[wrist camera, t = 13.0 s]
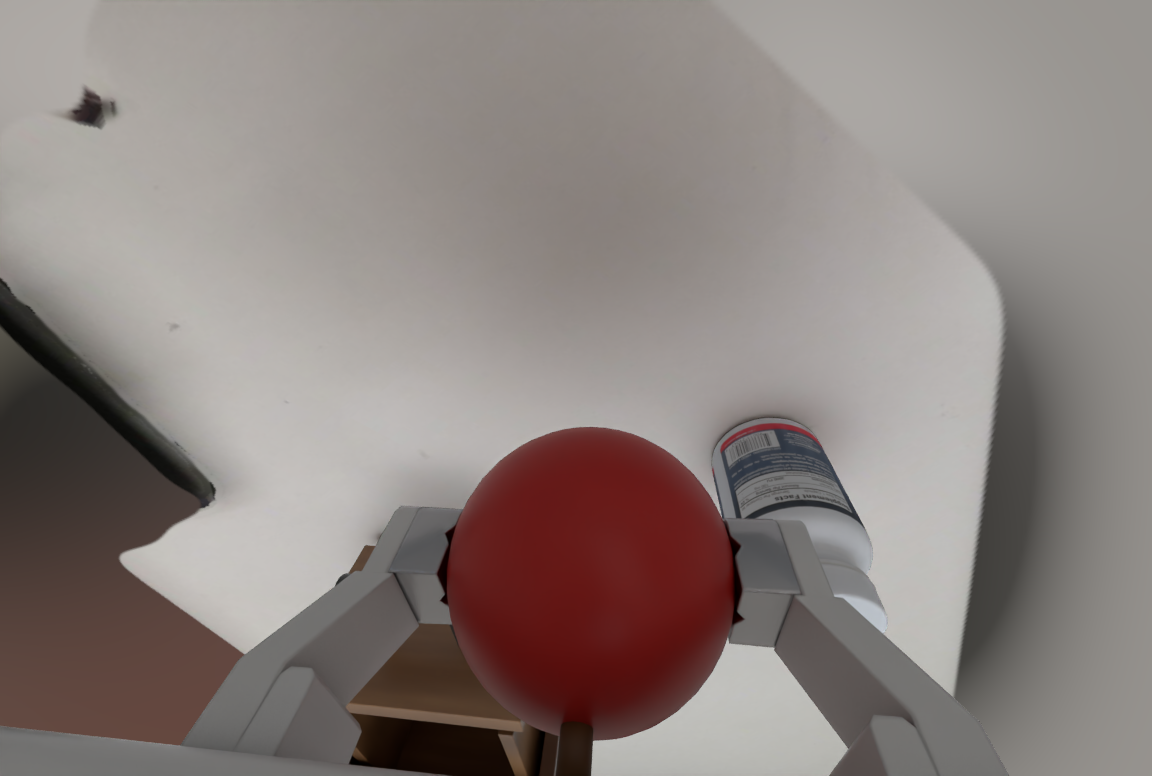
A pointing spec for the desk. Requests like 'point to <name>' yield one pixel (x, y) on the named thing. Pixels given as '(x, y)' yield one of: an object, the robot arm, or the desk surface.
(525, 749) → the drawer
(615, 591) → the apple
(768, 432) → the pill bottle
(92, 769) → the robot arm
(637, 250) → the desk surface
